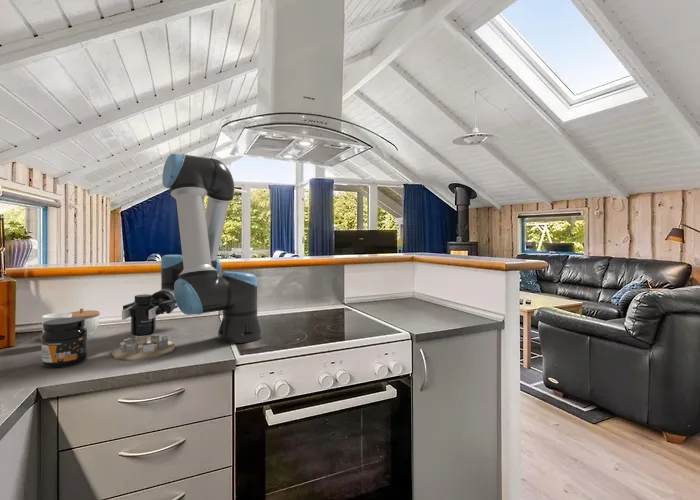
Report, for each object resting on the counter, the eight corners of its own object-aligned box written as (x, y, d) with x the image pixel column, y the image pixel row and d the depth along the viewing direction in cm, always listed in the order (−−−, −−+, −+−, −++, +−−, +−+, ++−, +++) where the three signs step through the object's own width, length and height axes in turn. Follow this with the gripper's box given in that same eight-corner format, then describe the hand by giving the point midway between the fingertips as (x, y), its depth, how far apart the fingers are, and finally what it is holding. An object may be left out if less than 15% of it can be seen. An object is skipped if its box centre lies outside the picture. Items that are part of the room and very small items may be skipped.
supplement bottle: (145, 337, 114) (144, 297, 113) (125, 335, 115) (124, 296, 115) (160, 331, 121) (160, 294, 120) (142, 330, 122) (141, 293, 121)
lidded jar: (81, 330, 143) (80, 305, 142) (107, 331, 141) (106, 306, 141) (55, 337, 132) (54, 311, 132) (83, 339, 131) (82, 312, 130)
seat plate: (185, 344, 125) (185, 341, 125) (152, 361, 108) (152, 358, 108) (137, 342, 127) (137, 339, 127) (98, 359, 110) (98, 355, 110)
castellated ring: (175, 342, 123) (175, 335, 123) (150, 355, 110) (150, 347, 110) (139, 341, 125) (139, 333, 125) (110, 353, 112) (110, 345, 112)
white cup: (78, 343, 125) (77, 313, 125) (51, 350, 118) (50, 318, 118) (64, 340, 129) (63, 311, 128) (36, 347, 122) (36, 316, 121)
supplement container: (35, 371, 100) (34, 326, 100) (48, 359, 110) (47, 318, 109) (83, 366, 104) (82, 323, 104) (91, 354, 114) (90, 315, 114)
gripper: (192, 310, 137) (171, 326, 114) (134, 311, 134) (101, 328, 111) (192, 289, 137) (171, 302, 114) (133, 290, 134) (100, 303, 111)
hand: (136, 315), depth 113 cm, fingers closed on supplement bottle, 7 cm apart
